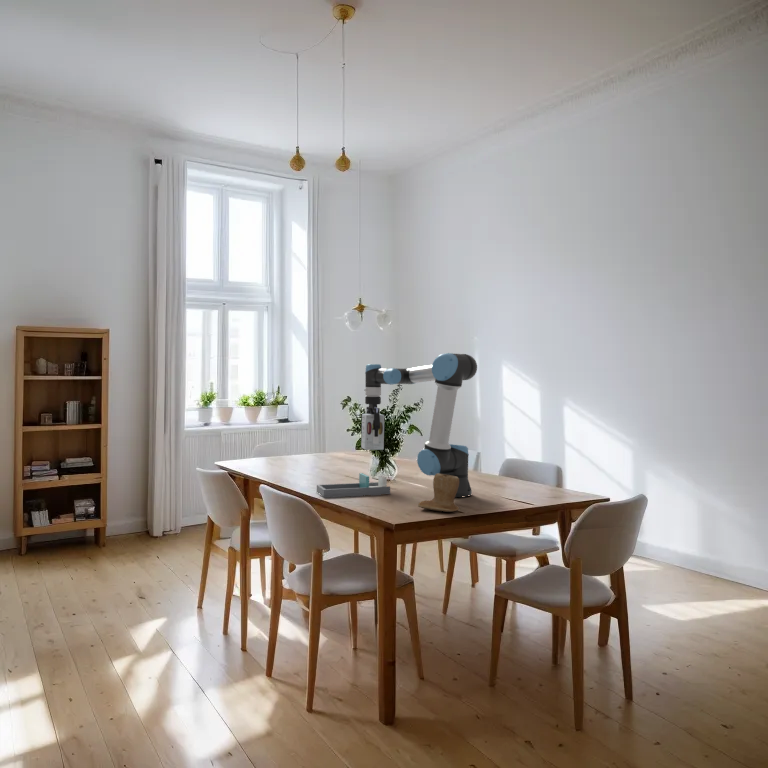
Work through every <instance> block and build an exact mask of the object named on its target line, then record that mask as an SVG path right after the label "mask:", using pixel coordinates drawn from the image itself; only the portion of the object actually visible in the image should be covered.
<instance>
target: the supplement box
mask: <svg viewBox="0 0 768 768" xmlns="http://www.w3.org/2000/svg"><path fill="white" fill-rule="evenodd" d="M379 414H380V429H379V444H373V430H372V429H373V420H374V414H373V415H371V414H366V413H362V414H361V443H360V444H361V445H360V446H361V449H363V450H365V451H370V450H371V451H373V450H375V451H377V450H378V451H379V450H382V451H383V450H384V449H385V448H384V447H385V441H384V440H385V414H381V413H379Z"/></svg>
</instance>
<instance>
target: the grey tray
mask: <svg viewBox="0 0 768 768" xmlns="http://www.w3.org/2000/svg"><path fill="white" fill-rule="evenodd" d="M369 486H378V482H377V481H375V482H373V481H372V482H369ZM317 492H318V493H320V494H321V495H322V496H324V497H331V498H345V496H351V497H364V496H365V495H371V496H382V495H381V494H390V495H391V486H390V485H389V486H387V487H366V488H359V482H355V483H354V482H353V483H352V482H350V483H328V484H316V493H317ZM318 493H317V494H318ZM321 495H320V496H321ZM363 495H364V496H363ZM322 496H321V497H322ZM342 496H343V497H342ZM365 497H366V496H365Z"/></svg>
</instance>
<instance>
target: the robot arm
mask: <svg viewBox="0 0 768 768" xmlns="http://www.w3.org/2000/svg"><path fill="white" fill-rule="evenodd" d="M477 371H478V363H477V361H476V359H475V358H474V357H473V356H472V355H470V354H466V353H453V352H451V353H450V352H448V353H440V354H439V355H437V357H435V359H434V360H433V361H432V364H429V365H428V364H427V365H422V366H421V365H420V366H415V367H408V368H407V367H405V368H395V367H389V368H388V367H387V368H385V367H384V368H382V365H381V364H379V363H376V364H374V363H368V364H366V365H365V373H364V374H365V389H364V391H365V392H364V393H365V395H364V396H365V399H364V401H365V402H364V403H365V405H368V406H366V412H365V414H371V415H373V414H374V420H373V429H372V430H373V444H379V429H380V414H381V413H380V409H381V408H379V407H378V405H381V404H382V400H381V399H382V397H381V396H382V385H413V384H418V383H423V382H425V383H426V382H432V381H434V383H435V385H436V386H437V389H436V395H435V402H434V406H433V407H434V409H433V412H432V413H433V415H432V420H431V425H430V426H431V427H430V433H429V437H428V440H426V441H425V442H424V448H423V449H421V450H420V451H419V452H418V454H417V458H416V462H417V466H418V468H419V469H420V471H421V472H422V473H423V474H424V475H426V476H430V477H431V476H433V477H434V476H435V475H436V474H437V473H440V474H445V475H451V476H456V477H458V478H459V486H458V490H457V493H456V495H455V497H462V496H468V495H471V494H472V491H473V490H472V487H471V485H470V481H469V447H468V446H467V445H459V444H451V443H450V442H449V441H450V436H451V430H452V424H453V419H454V418H453V417H454V412H455V406H456V400H457V399H456V398H457V394H458V390H459V389H460V388H462V385H463V381H468V380H471V379H473V377H474V376H475V375H476V373H477ZM472 495H473V494H472Z"/></svg>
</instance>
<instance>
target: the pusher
mask: <svg viewBox="0 0 768 768" xmlns="http://www.w3.org/2000/svg"><path fill="white" fill-rule="evenodd" d="M358 476H359V477H358V478H359V479H358V480H359V481H358V483H359V488H366V487H387V480H388V479H387V477H386V476H383V475H378V478H377V479H378V480H377V481H378V486H369V483H370V476H369V475H367V474H364V473H363V472H360V473H359V474H358Z"/></svg>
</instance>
